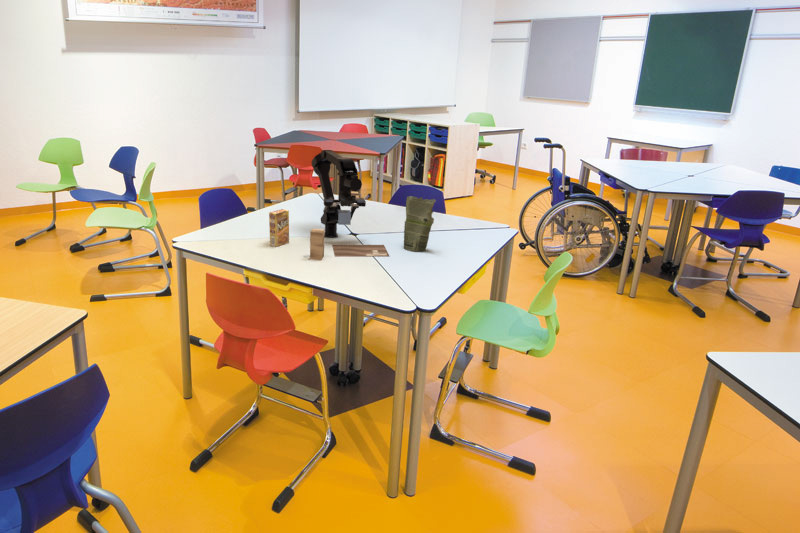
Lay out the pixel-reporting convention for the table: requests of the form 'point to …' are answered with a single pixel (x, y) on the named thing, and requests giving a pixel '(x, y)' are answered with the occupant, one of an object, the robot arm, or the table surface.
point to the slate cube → (344, 217)
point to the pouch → (418, 223)
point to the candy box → (279, 227)
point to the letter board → (360, 251)
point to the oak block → (317, 244)
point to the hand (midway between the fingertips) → (344, 220)
